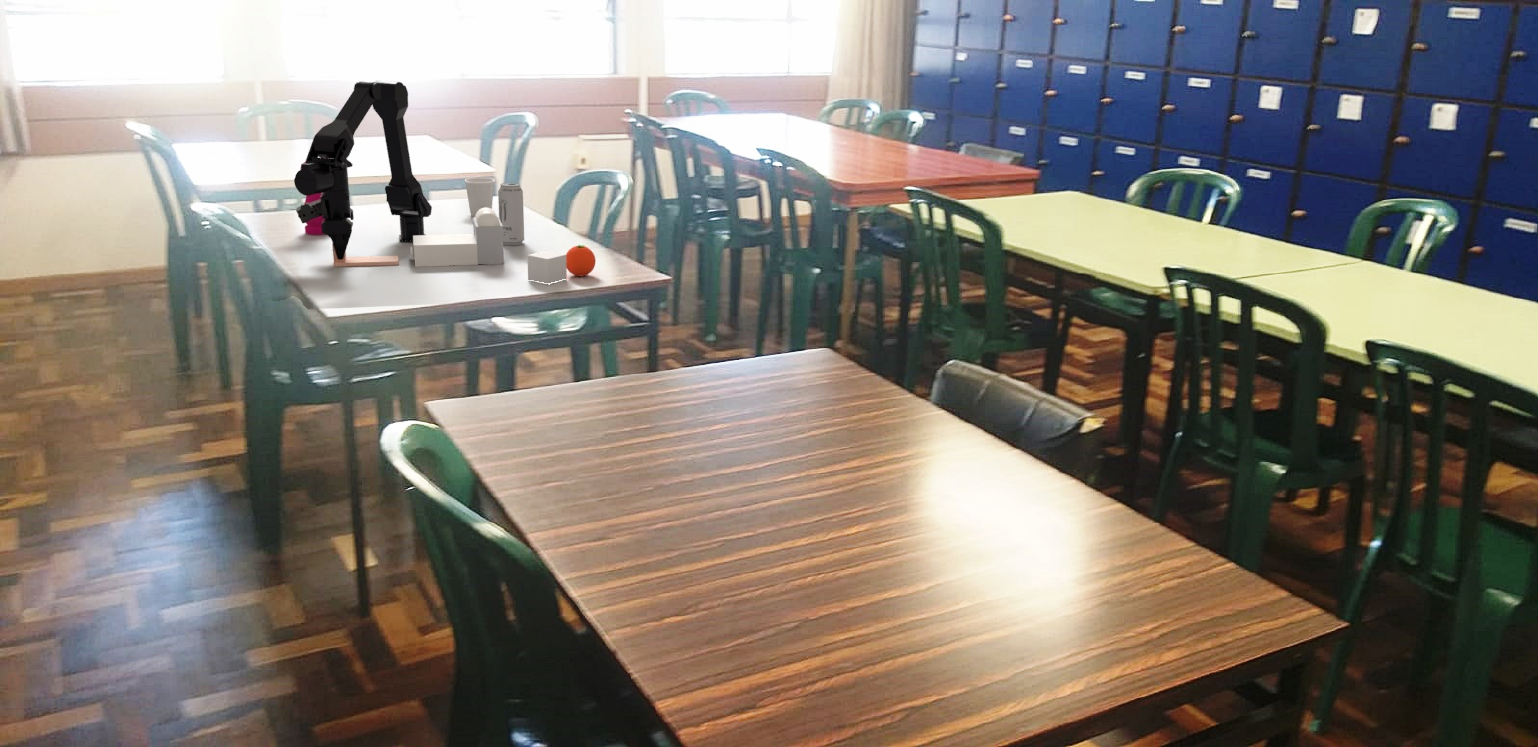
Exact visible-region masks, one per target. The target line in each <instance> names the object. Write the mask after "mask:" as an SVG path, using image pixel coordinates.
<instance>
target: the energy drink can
mask: <svg viewBox="0 0 1538 747" xmlns="http://www.w3.org/2000/svg"><path fill="white" fill-rule="evenodd" d="M497 192H498V194H497V195H498V196H497V198H498V217H499V219H500V221H501V223H502V226H503V246H511V247H512V246H515V247H516V246H520V245H522V244H523V242H524V241H525V223H524V222H525V217H524V190H523V189H522V187H521V184H520V183H517V182H502V183H500V186H499V189H498V191H497Z"/></svg>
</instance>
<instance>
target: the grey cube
mask: <svg viewBox="0 0 1538 747" xmlns="http://www.w3.org/2000/svg"><path fill="white" fill-rule="evenodd" d="M567 271H568V269H567V268H566V253H560V252H559V253H558V252H555V251H549V250H544V251H539V252H535V253H531V254H527V281H528V280H534V281H539V282H544V283H551V282H555V281H559V280H562V279H566V278H567V277H568V276H567ZM567 279H568V278H567Z"/></svg>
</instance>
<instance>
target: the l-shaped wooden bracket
mask: <svg viewBox="0 0 1538 747" xmlns="http://www.w3.org/2000/svg"><path fill="white" fill-rule="evenodd" d="M331 245H332V257H333V267H335V268H336V267H365V266H366V267H367V266H372V267H373V266H394V265H395V266H398V265H399V255H382V256H381V255H380V256H379V255H378V256H373V255H372V256H371V255H370V256H369V255H368V256H347V253H346V251H347V250H346V251H345V254H344V257H343V259H341V260H339V259H338V258H337V255H336V252H335V249H334V246H333V243H332V244H331Z"/></svg>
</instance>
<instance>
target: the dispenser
mask: <svg viewBox="0 0 1538 747" xmlns="http://www.w3.org/2000/svg"><path fill="white" fill-rule="evenodd" d="M472 220H473V221H472V222H473V225H472V226H473V228H472V229H473V233H468V234H467V233H464V234H463V233H462V234H426V235H416V236H413V241H412V242H413V243H412V244H413V246H410V248H409V251H410V259H411V260H412V261H414V266H415V268H418V267H419V268H420V267H449V266H450V265H451V267H452V266H453V265H455V266H477V265H478V264H488V265H505V256H504V255H505V252H504V249H505V248H504V245H503V226H502V223H501V221H500V219H499V216H498V215H497V213H496V212H495V210H493V208H492V209H490V208H486V207H485V208H481V209H480V210H478V211H477V213H476V216H475V217H472ZM501 263H503V264H501ZM478 266H479V265H478Z"/></svg>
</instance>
